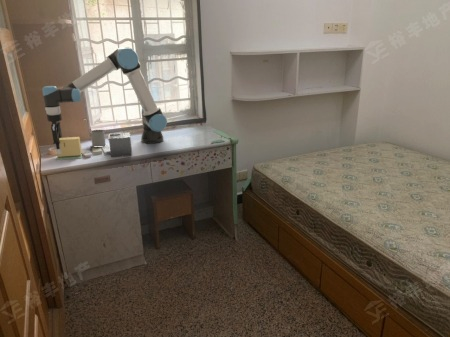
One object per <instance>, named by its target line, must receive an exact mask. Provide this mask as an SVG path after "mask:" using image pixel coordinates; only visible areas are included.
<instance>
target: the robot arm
mask: <svg viewBox="0 0 450 337" xmlns="http://www.w3.org/2000/svg"><path fill="white" fill-rule="evenodd" d="M141 68H142V64H141V63H140V60H139V54H138V53H137V52H136V50H134V49H133V48H130V47H127V46H126V47H125V46H121V47H118V48H116V50H114V51H113V52H112V53H110V54H109V55H108V56H106V59H105V60H103V61H101V62H100V63H98V64H97V65H95V66H94V67H92V68H91V69H90V70H89V71H87V72H85V73H84V74H83V75H81V76H79V77H78V78H76V79H75V80H73V81H72V82H71V83H69V84H66V85H64V86H63V87H62V88H61V89H58V88H57V86H55V85H47V86H43V87H42V88H41V89H42V90H41V91H42V96H43V102H44V106H45V108H44V111H46V119H47V121H48V122H51V124H50V130H51V133H52V140H53V144H54V146H55V152H56V155H57V154H62V151H61V145H60V142H59V138H63V133H62V128H61V122H60V121H62V120H63V118H62V113H61V112H62V111H61V106H60V105H61V104H63V103H64V104H65V103H79V102H81V101H82V94H81V93H83V92H84V91H85V90H87V89H88V88H90V87H91V86H93V85H94V84H96V83H97V82H98V81H100V80H102V79H103V78H105V77H106V76H107V75H109V74H111V73H113V71H118V70H121V72H122V74H123V75H125V76H126V77H127V79H128V81H129V82H130V86H131V88H132V89H133V91H134V94H135V95H136V98H137V100H138V102H139V104H140V106H141V121H142V133H141V137H140V138H141V142H142V143H144V144H158V143H161V142H163V141H164V136H163V135H164V134H163V133H162V131H163V130H165V129H166V127H167V124H168V120H167V118H166V116H165V115H164V113H163V112H162V108H161V107H160V106H157V103H156V102H155V100H154V97H153V95H152V93H151V91H150V89H149V87H148V84H147V82H146V80H145V78H144V75H143V73H142V71H141Z"/></svg>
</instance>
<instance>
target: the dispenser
mask: <svg viewBox="0 0 450 337" xmlns="http://www.w3.org/2000/svg"><path fill="white" fill-rule="evenodd" d="M131 139H132V137H131V132H115V133H114V132H112V133H111V132H110V133H109V134H108V138H107V141H108V142H109V150H110V157H111V158H116V157H132V156H133V155H132V151H133V150H132V140H131ZM131 155H132V156H131Z"/></svg>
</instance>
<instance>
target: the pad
mask: <svg viewBox="0 0 450 337" xmlns="http://www.w3.org/2000/svg"><path fill="white" fill-rule="evenodd" d="M82 158H83V156H82V154H81V155H75V156H61V157H56V159H55V161H63V160H76V159H82Z"/></svg>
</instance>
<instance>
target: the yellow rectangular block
mask: <svg viewBox="0 0 450 337" xmlns="http://www.w3.org/2000/svg"><path fill="white" fill-rule="evenodd" d="M59 142H60V145H61V151H62V154H57V153H56V156H57V157H61V156H75V155H81V153H83V152H82V151H83V150H82V145H81V138H80V136H72V137H69V136H67V137H62V138H59ZM57 157H56V158H57Z"/></svg>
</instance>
